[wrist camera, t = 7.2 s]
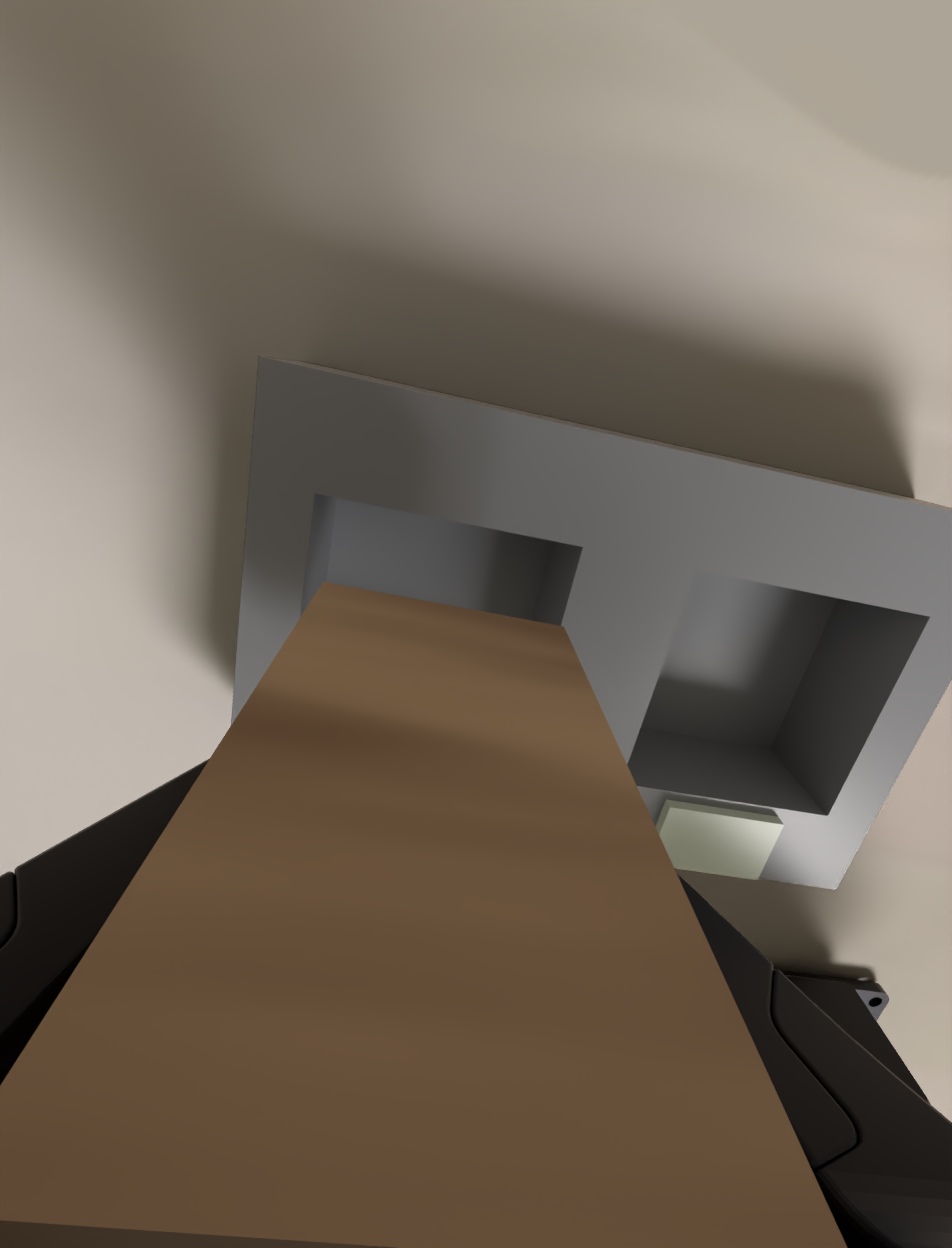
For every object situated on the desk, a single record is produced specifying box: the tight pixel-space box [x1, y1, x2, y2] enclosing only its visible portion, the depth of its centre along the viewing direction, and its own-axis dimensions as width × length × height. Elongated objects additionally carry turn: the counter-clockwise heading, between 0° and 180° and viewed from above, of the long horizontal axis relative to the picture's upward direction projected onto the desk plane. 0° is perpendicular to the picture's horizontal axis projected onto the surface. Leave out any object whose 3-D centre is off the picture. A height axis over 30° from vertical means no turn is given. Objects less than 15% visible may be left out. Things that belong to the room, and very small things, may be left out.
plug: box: [0, 582, 847, 1248], centre depth 7 cm, size 4×4×8 cm
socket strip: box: [231, 356, 952, 890], centre depth 15 cm, size 10×16×4 cm, turn 78°
